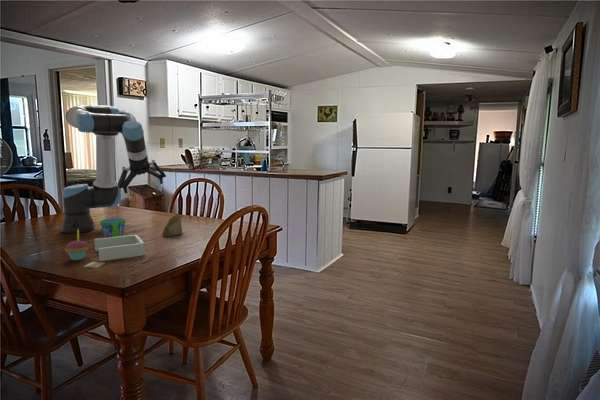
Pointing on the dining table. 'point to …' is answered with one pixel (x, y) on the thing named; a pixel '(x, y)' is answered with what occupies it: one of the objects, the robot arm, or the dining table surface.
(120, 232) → the snack cup
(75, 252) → the cupcake
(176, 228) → the rock
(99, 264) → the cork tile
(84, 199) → the robot arm
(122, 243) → the tray
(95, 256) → the dining table surface
